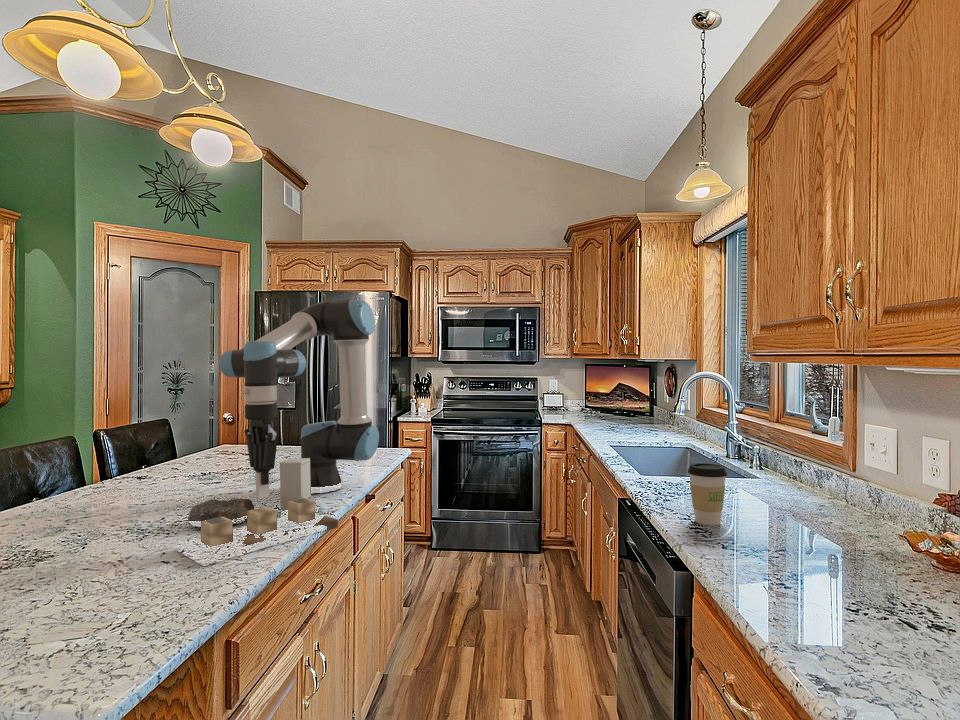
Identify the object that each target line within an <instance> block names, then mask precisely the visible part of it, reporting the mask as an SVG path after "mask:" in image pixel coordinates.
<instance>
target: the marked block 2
mask: <svg viewBox="0 0 960 720" xmlns="http://www.w3.org/2000/svg"><path fill="white" fill-rule="evenodd" d="M315 513H316V500H314V499H312V498H311V499H308V498H301V499H296V500H292V501H288V520H290V521H293V522H296V523H298V524H299V523H303V522H306V521H310V520H313V519H315Z"/></svg>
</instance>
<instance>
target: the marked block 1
mask: <svg viewBox="0 0 960 720" xmlns="http://www.w3.org/2000/svg"><path fill="white" fill-rule="evenodd" d="M233 525H234V524H233V522H232V520H230V519H228V518H225V517H219V518H214V519H210V520H206V521H201V528H200V536H201V542H202V543H204V544H206V545H208V546H210V547H212V546H217V545H220V544H225V543H229V542H233V528H234V527H233Z"/></svg>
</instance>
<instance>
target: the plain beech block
mask: <svg viewBox="0 0 960 720" xmlns="http://www.w3.org/2000/svg"><path fill="white" fill-rule="evenodd" d="M277 514H278V513H277V509H275V508H272V507H270V506H268V505H267V506H262V507H257V508H254V509H253V510H249V511H247V520H246V521H247V523H246V525H247V531H249V532H251V533H254V534H257V535H259V534H263V533H266V532H269V531H273V530H277V517H278V516H277Z"/></svg>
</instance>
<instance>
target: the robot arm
mask: <svg viewBox="0 0 960 720" xmlns="http://www.w3.org/2000/svg"><path fill="white" fill-rule="evenodd" d="M375 327H376V318H375V314H374V311H373V309H372V307H371V305H370V304H369V303H368V302H367V301H365V300H359V299H349V300H347V299H346V300H332V301H331V300H327V301H326V300H325V301H320V302H317V303H313V304H312V305H310V306H307V307H305V308H304V309H301V310H299V311H298V312H295V313H294V314H292V316H291V318H290V320H289V321H287V322H285V323H283V324H282V325H280V326H278V327H277V328H275V329H274V330H272V331H269V332H267V333H266V334H265V335H263V336H261V337H260V338H258V339H256V340H253V341H252V340H249V341H247V342H245V343H244V346H243V347H242V348H241V349H232V350H231V349H230V350H226V351H224V352H223V353H222V354H221V356H220V358H219V362H218V363H219V368H220V372H221V373H222V374H223V375H224V376H225V377H229V378H235V379H236V378H237V379H241V378H243V379H244V383H243V384H244V390H243V392H242V393H243V394H244V402H245V403H247V404H245V405H244V418H245V420H248V421H249V420H250V422H249V428H246V429H244V435H245V438H246V445H247V453H248V458H249V466H250V468H253V470H254V472H255V498H256V499H264V498H268V497H270V471H271V470H274V469H275V463H276V454H277V447H278V441H279V437H280V432H279V431H275V430H274V423H273V419H276V418H277V417H278V404H277V403H276V402H277V401H278V383H277V381H278V378H279V379H280V378H281V379H282V378H294V377H297V376H300V375H302V374H303V373H304V372H305V370H306V367H307V361H306V360H307V359H306V357H305V355H304V354H303V353H302V352H301V351H300V350H297V349H293V348H295V347H296V346H297V345H300V344H301V342H304V341H309V340H312V339H313V338H315V337H316V338H317V337H322V336H333V342H334V343H335V344H336V345H337V349H338V368H339V370H338V371H339V372H338V373H339V394H340V395H339V397H340V398H339V399H340V418H339V419H338V420H337V421H336V420H328V421H321V422H320V421H319V422H313V423H308V424H305V425H302V428H301V432H300V454H301V455H300V458H310V482H311V487H325V486H333V485H337V484H339V483H341V482H343V481H342V478H341V475H340V473H339V470H338V467H337V461H342V460H343V461H355V462H359V461H369V460H371V458H373V456H374V455H375V454H376V452H377V449H378V447H379V442H380V432H379V429H378V427H377V426H375V425H373V419H372V418H371V417H369V415H368V406H367V405H368V403H367V400H368V399H367V382H366V381H367V378H366V375H367V374H366V348H365V345H366V344H367V343H368V341H370V335H372V334H373V333H374V332H375Z"/></svg>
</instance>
